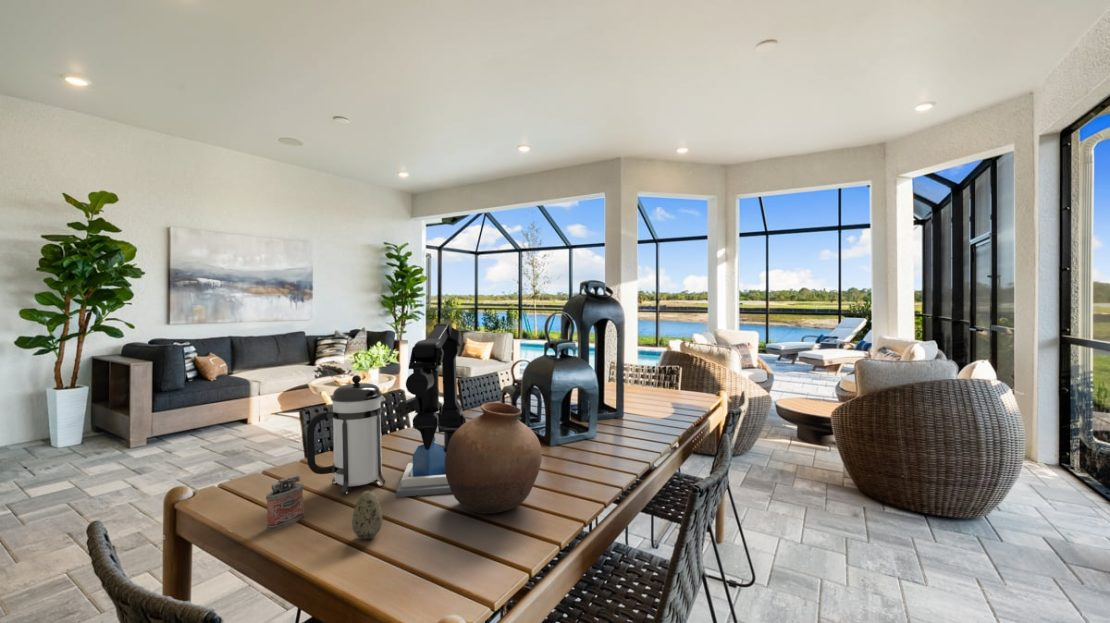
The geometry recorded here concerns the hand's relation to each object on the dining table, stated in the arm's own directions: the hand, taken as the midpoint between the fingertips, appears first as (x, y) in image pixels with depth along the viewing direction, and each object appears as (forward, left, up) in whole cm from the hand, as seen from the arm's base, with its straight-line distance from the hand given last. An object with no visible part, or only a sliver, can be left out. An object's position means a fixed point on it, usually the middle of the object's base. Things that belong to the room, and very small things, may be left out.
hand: (428, 444), depth 133 cm
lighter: (+19, -30, -11) cm, 37 cm away
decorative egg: (+30, -10, -11) cm, 33 cm away
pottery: (+20, +17, -11) cm, 28 cm away
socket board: (0, 0, -10) cm, 10 cm away
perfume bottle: (0, 0, -9) cm, 9 cm away
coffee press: (-1, -20, -11) cm, 23 cm away
